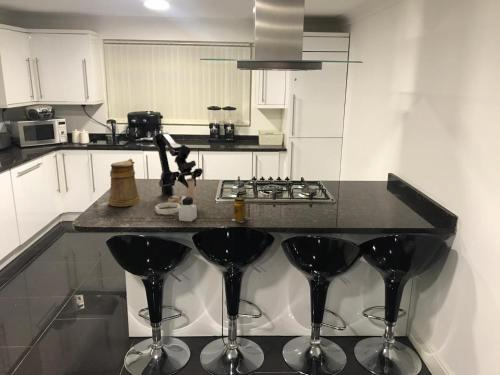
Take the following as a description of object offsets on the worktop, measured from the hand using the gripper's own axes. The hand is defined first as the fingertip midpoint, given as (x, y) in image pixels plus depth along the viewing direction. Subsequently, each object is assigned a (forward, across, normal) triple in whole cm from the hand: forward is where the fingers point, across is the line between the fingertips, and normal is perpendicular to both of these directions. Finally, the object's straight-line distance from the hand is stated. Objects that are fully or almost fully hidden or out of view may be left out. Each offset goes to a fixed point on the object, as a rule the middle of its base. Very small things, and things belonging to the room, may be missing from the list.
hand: (191, 186), depth 242 cm
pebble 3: (-2, +2, +20) cm, 20 cm away
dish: (+6, -13, +13) cm, 19 cm away
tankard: (-16, -26, +36) cm, 47 cm away
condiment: (+31, +13, -12) cm, 36 cm away
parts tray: (-2, -1, +22) cm, 22 cm away
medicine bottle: (+19, -10, 0) cm, 22 cm away
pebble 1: (-5, -2, +23) cm, 23 cm away
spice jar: (+4, 0, +6) cm, 7 cm away
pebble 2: (-2, -2, +20) cm, 20 cm away
